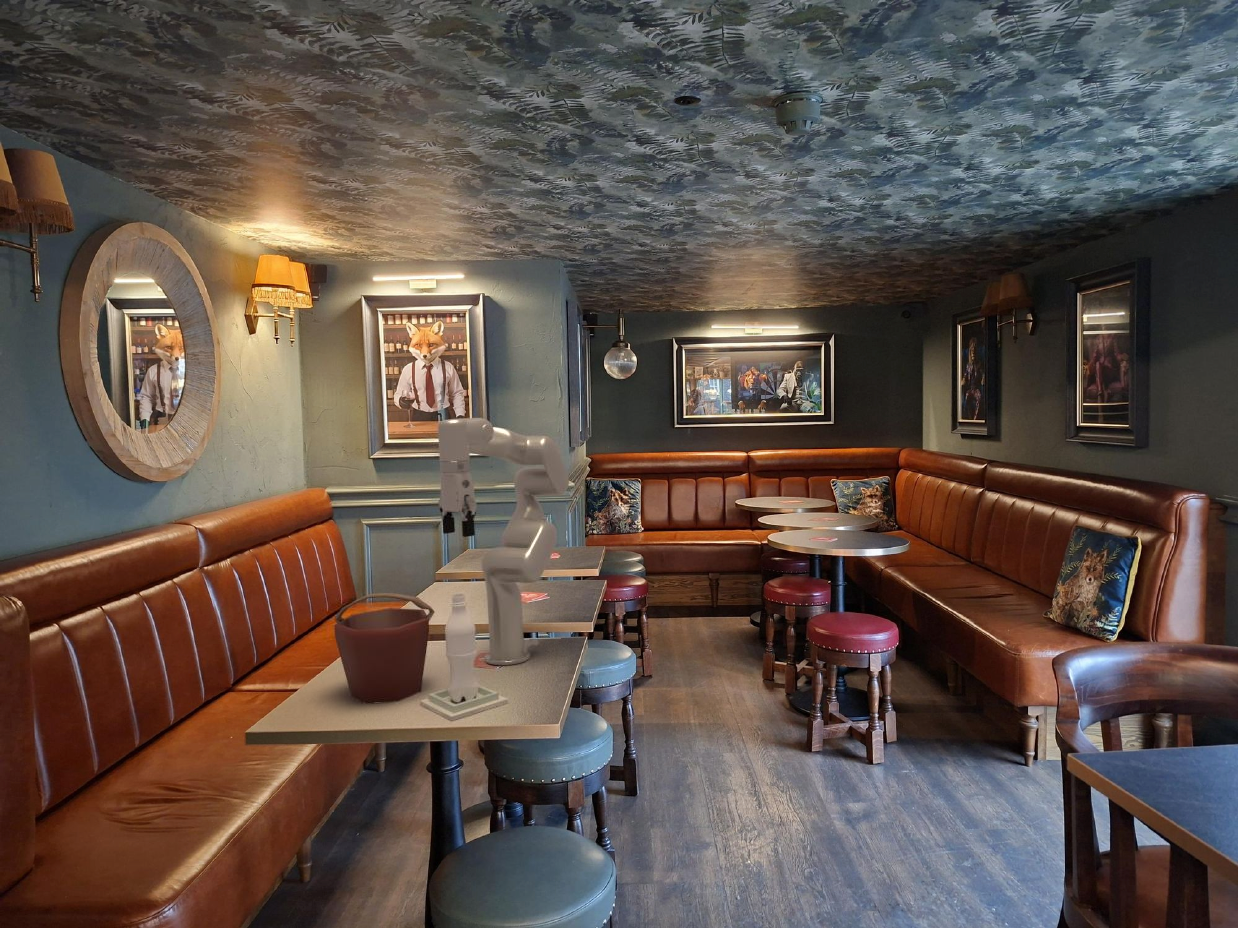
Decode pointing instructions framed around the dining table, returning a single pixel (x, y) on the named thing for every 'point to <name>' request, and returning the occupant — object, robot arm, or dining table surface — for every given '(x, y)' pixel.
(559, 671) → the dining table surface
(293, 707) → the dining table surface
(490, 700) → the plate
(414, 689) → the bucket
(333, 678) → the dining table surface
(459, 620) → the water bottle
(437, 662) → the dining table surface
